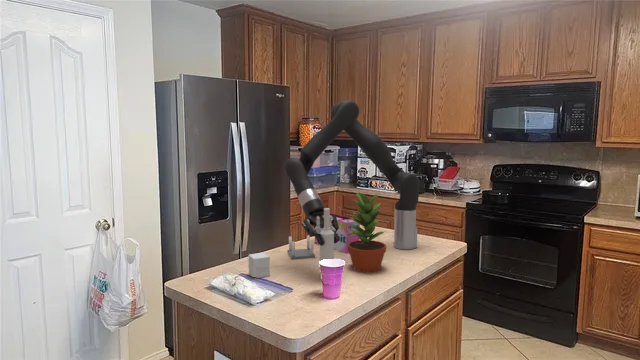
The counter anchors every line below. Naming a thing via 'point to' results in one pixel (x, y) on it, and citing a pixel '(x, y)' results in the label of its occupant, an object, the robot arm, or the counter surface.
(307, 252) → the pin holder
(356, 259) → the potted plant
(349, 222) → the gum box
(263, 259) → the product box
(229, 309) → the counter surface
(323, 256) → the bottle
